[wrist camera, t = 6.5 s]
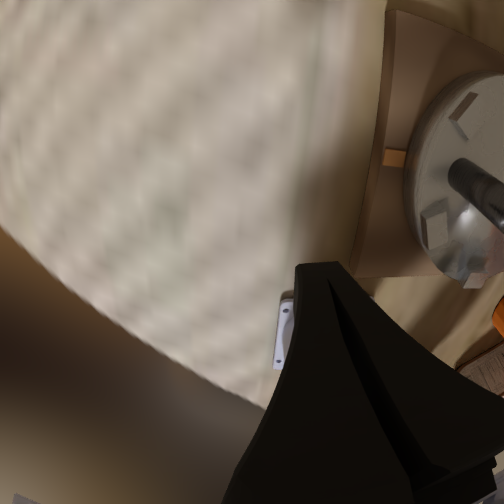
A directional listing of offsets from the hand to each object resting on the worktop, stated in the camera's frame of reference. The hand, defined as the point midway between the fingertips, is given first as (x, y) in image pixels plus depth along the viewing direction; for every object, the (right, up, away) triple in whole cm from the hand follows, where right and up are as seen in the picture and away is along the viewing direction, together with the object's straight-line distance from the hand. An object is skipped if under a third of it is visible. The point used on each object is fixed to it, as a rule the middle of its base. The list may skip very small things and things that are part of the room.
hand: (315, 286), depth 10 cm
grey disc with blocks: (+15, +6, +7) cm, 17 cm away
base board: (+14, +7, +8) cm, 18 cm away
